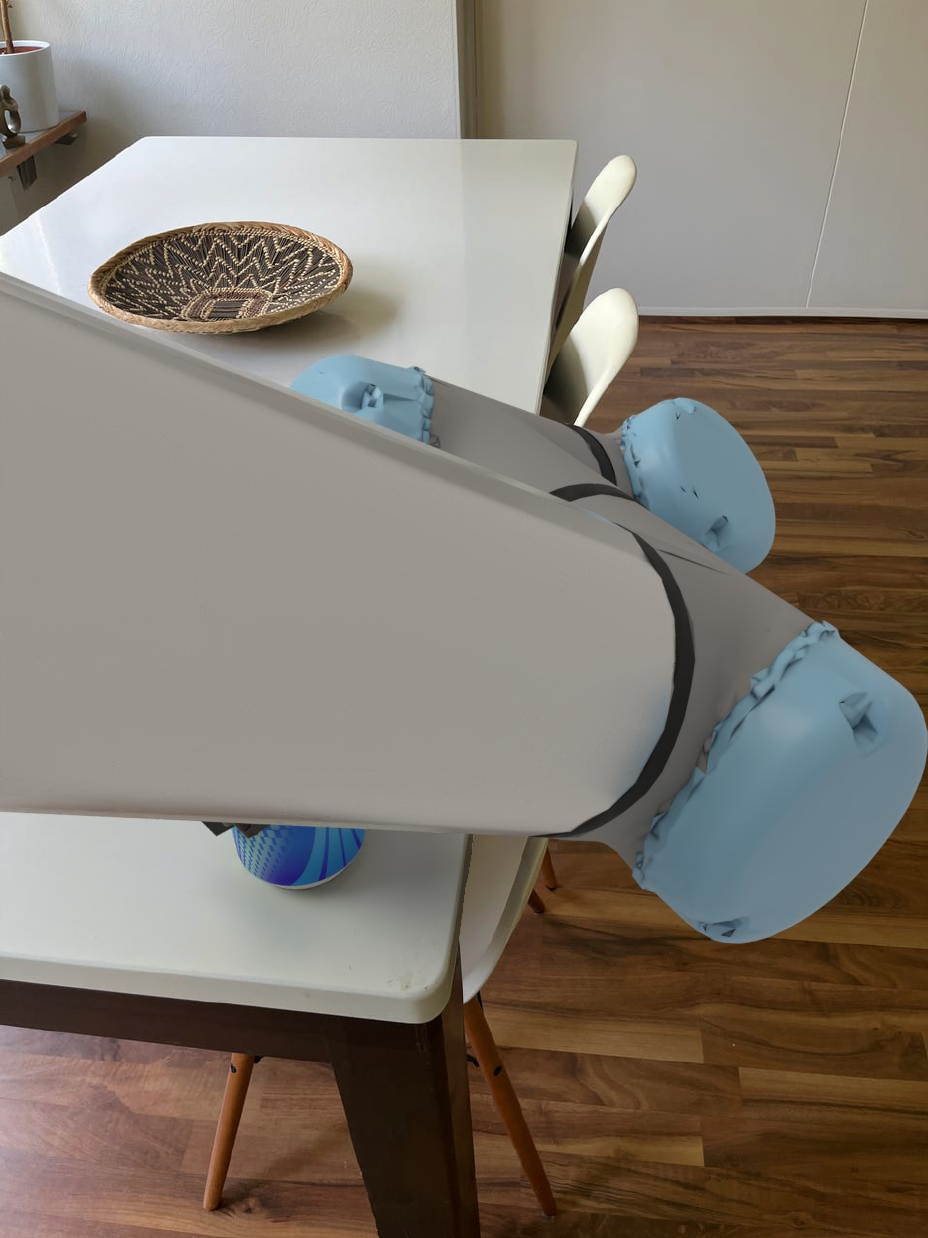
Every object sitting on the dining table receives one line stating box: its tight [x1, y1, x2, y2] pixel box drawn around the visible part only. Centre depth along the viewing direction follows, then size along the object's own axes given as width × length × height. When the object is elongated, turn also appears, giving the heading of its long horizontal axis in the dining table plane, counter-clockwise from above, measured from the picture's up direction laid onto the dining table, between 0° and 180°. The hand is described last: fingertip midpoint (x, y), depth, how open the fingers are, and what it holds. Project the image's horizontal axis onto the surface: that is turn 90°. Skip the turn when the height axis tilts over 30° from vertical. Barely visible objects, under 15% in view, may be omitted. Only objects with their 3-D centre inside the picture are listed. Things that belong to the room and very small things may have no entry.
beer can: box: [230, 825, 366, 890], centre depth 61 cm, size 8×8×16 cm
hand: (247, 766), depth 63 cm, fingers closed on beer can, 8 cm apart
